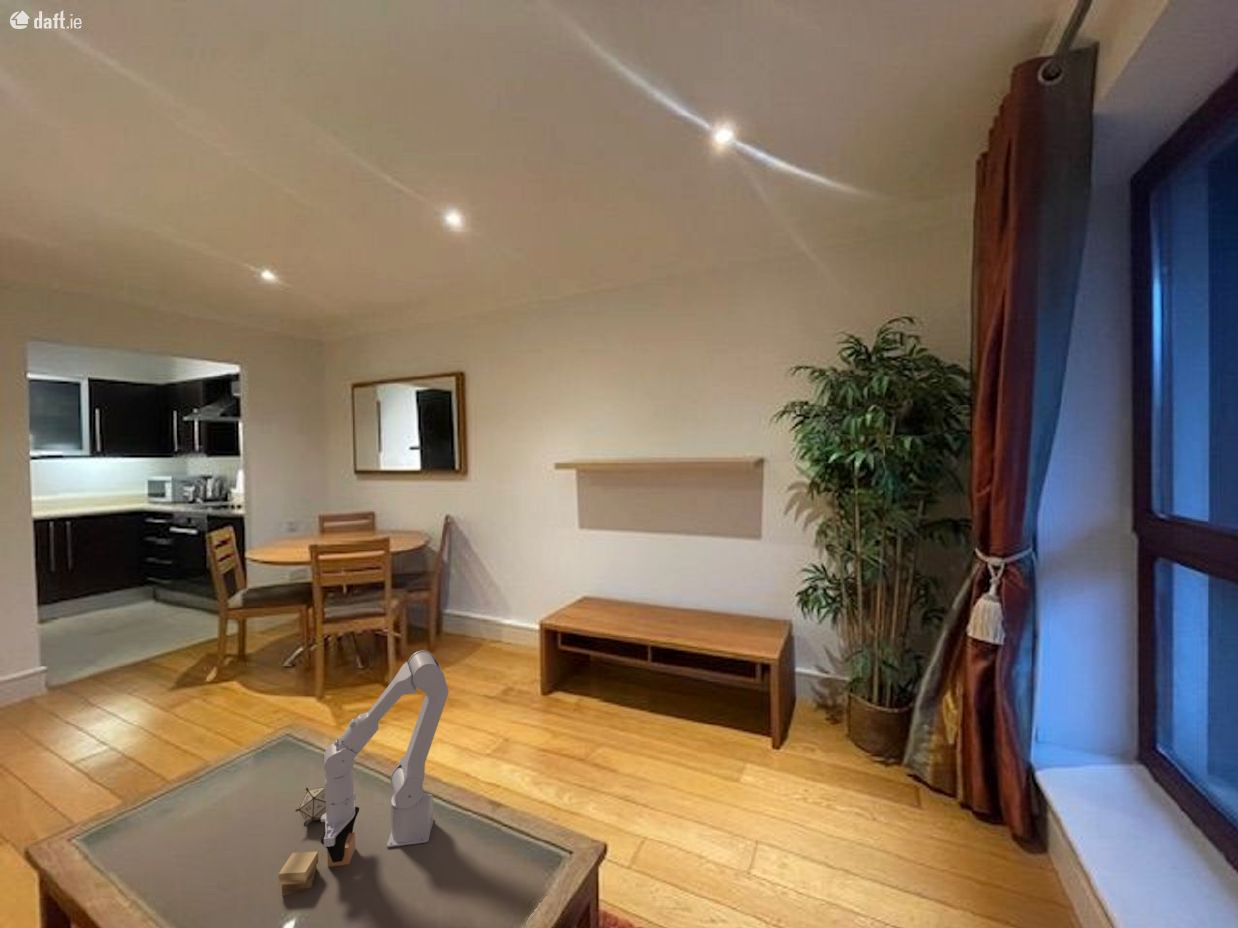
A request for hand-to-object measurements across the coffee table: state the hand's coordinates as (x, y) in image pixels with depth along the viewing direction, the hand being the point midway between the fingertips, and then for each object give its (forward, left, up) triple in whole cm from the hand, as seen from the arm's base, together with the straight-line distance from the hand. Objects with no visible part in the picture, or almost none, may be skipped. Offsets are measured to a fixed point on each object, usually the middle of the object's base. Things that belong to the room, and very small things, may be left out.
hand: (341, 851), depth 121 cm
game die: (+10, -14, -2) cm, 18 cm away
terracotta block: (0, 0, -1) cm, 1 cm away
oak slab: (+7, +5, +1) cm, 9 cm away
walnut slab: (+7, +5, -2) cm, 9 cm away
